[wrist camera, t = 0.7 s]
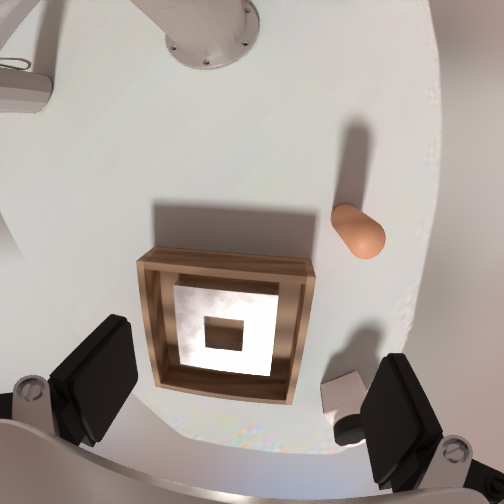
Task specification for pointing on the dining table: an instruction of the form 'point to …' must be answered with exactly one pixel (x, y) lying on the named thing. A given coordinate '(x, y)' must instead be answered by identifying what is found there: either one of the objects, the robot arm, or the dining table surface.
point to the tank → (13, 16)
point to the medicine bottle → (345, 408)
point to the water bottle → (23, 89)
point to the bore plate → (231, 307)
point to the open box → (226, 320)
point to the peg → (358, 231)
